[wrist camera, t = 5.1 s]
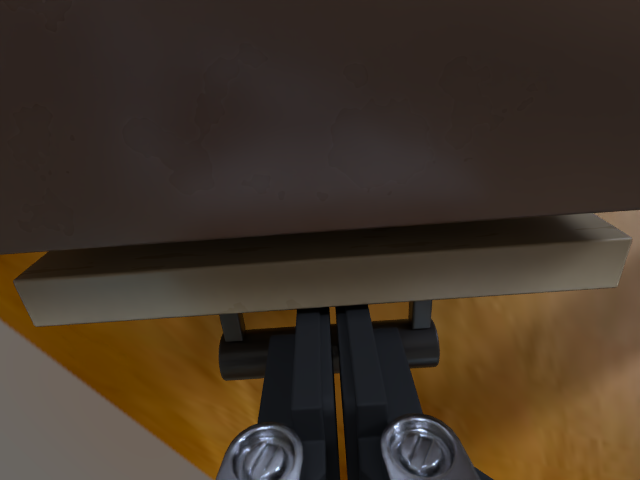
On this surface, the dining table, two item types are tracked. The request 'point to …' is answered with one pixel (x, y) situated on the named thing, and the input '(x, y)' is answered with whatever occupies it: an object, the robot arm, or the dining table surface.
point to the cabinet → (309, 116)
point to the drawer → (324, 277)
